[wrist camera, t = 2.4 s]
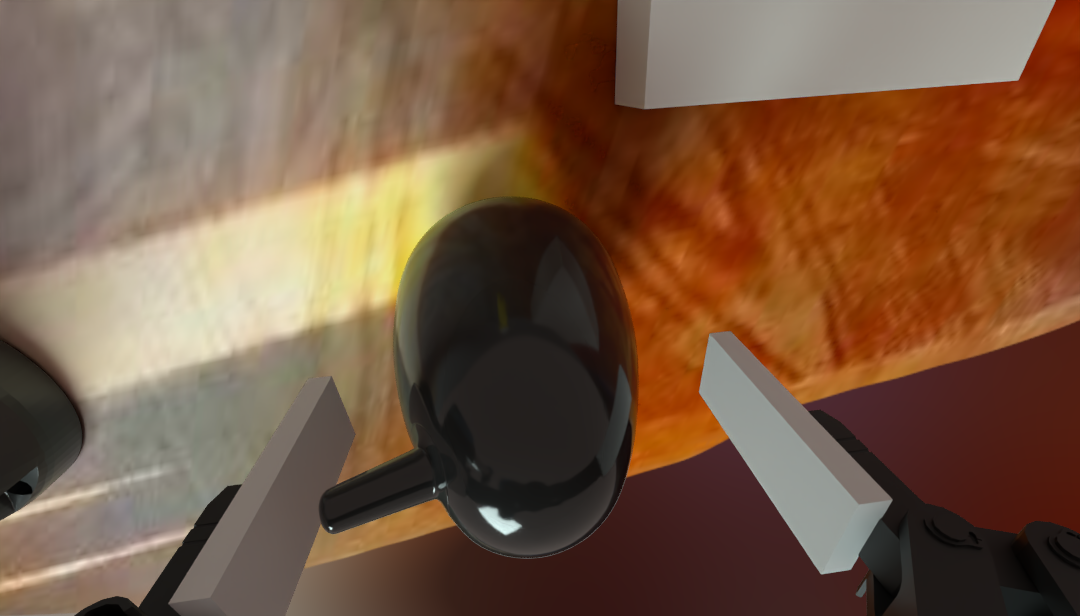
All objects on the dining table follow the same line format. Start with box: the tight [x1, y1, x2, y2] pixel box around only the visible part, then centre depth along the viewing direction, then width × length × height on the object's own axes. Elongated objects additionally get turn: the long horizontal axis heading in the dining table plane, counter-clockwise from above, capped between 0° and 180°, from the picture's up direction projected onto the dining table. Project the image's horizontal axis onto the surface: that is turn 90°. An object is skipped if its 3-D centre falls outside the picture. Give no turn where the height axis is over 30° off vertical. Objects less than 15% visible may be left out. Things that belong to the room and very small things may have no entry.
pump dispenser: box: [319, 197, 639, 558], centre depth 16 cm, size 10×10×15 cm
